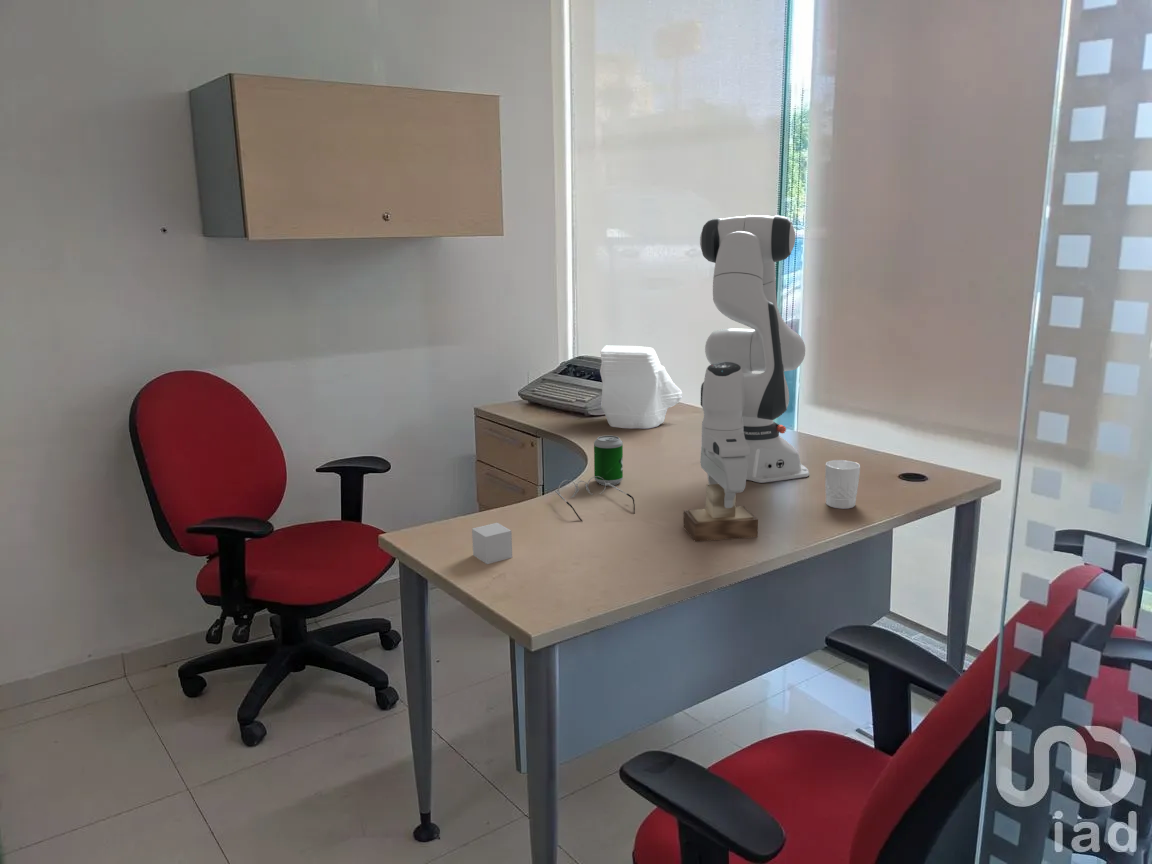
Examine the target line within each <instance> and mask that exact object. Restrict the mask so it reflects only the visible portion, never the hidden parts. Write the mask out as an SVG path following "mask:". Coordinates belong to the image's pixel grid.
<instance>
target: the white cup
mask: <svg viewBox="0 0 1152 864" xmlns="http://www.w3.org/2000/svg"><path fill="white" fill-rule="evenodd" d="M860 473H861V464H860V463H858V462H855V461H851V460H845V459H833V460H829V461H826V462H825V476H824V477H825V478H824V480H825V483H824V484H825V485H824V487H825V503H826V506H828V507H831V508H834V509H840V510H843V509H844V510H845V509H852V508H854V507H855V506H856V501H857V495H858V487H859V480H860Z"/></svg>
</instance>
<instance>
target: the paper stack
mask: <svg viewBox="0 0 1152 864" xmlns="http://www.w3.org/2000/svg"><path fill="white" fill-rule="evenodd" d="M600 358H601V363H600V364H601V365H600V369H599V374H600V377H601V382H602V389H601V400H600V401H601V403H600V409H601V410H603V412H604V415H605V418H606V420H607V421H606V422H607V423H608V424H609V426H610V427H612V428H620V429H621V428H622V429H641V430H643V429H645V430H647V429H653V428H657V427H659V426H660V425H661V424H663V423H664V422H665V418H666V414H667V413H668V412H667V411H668V409H669V408H673V407H674V406H676V405H677V404H678V403H680V401H681V399H682V397H683V392H682V390H681V388H679V386H677V385H676V384H675V383H674V381H673V379H672V378H671V376H670V375H669V373H668V372H667V369H666V367H665V366H664V365H662V363H661V361H660V359H659V356H658V354H657V352H656V350H655V348H653V347H650V346H640V345H612V344H611V345H609V344H608V345H605V344H604V347H602V349H601V350H600Z"/></svg>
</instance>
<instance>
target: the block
mask: <svg viewBox="0 0 1152 864" xmlns="http://www.w3.org/2000/svg"><path fill="white" fill-rule="evenodd" d="M705 488H706V489H705V490H706V491H705V493H706V494H705V497H706V498H705V499H706V500H705V509H706V511H707V512H708V513H709V514H710V515H711V517H712V518H721V517H735V507H736V498H737V496H736V495H737V494H736V495H735V497H734V500H733V507H732V508H725V507H724V506H723V498H724V497H725V493H724V489H723V488H722V487H721V486H720V485H719V484H710V485H709V484H706V487H705Z"/></svg>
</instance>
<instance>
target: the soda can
mask: <svg viewBox="0 0 1152 864" xmlns="http://www.w3.org/2000/svg"><path fill="white" fill-rule="evenodd" d="M623 443H624V442H623V441H622V440H621V438H620V437H619V436H617V435H602V436H601V435H600V436H598V437H597V438H596V440H594V442H593V454H594V455H593V459H594V461H593V462H594V463H593V464H594V465H593V467H594V468H593V470H594V476H593V477H594V478H593V479H594V480H595V481H596V482H597V484H598V483H599V485H600V484H601V485H600V486H605V483H609V484H611V485H613V486H617V485H619V484H620V483H621V482H622V481H623V479H624V478H623V477H624V474H623V472H624V469H623V467H624V465H623V461H624V457H623V456H624V455H623V448H624V447H623V446H624V445H623ZM595 476H599V477H595ZM600 477H601V478H600ZM602 478H603V479H604V480H603V479H602ZM604 481H605V482H604ZM606 486H609V487H611V486H610V485H606Z"/></svg>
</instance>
